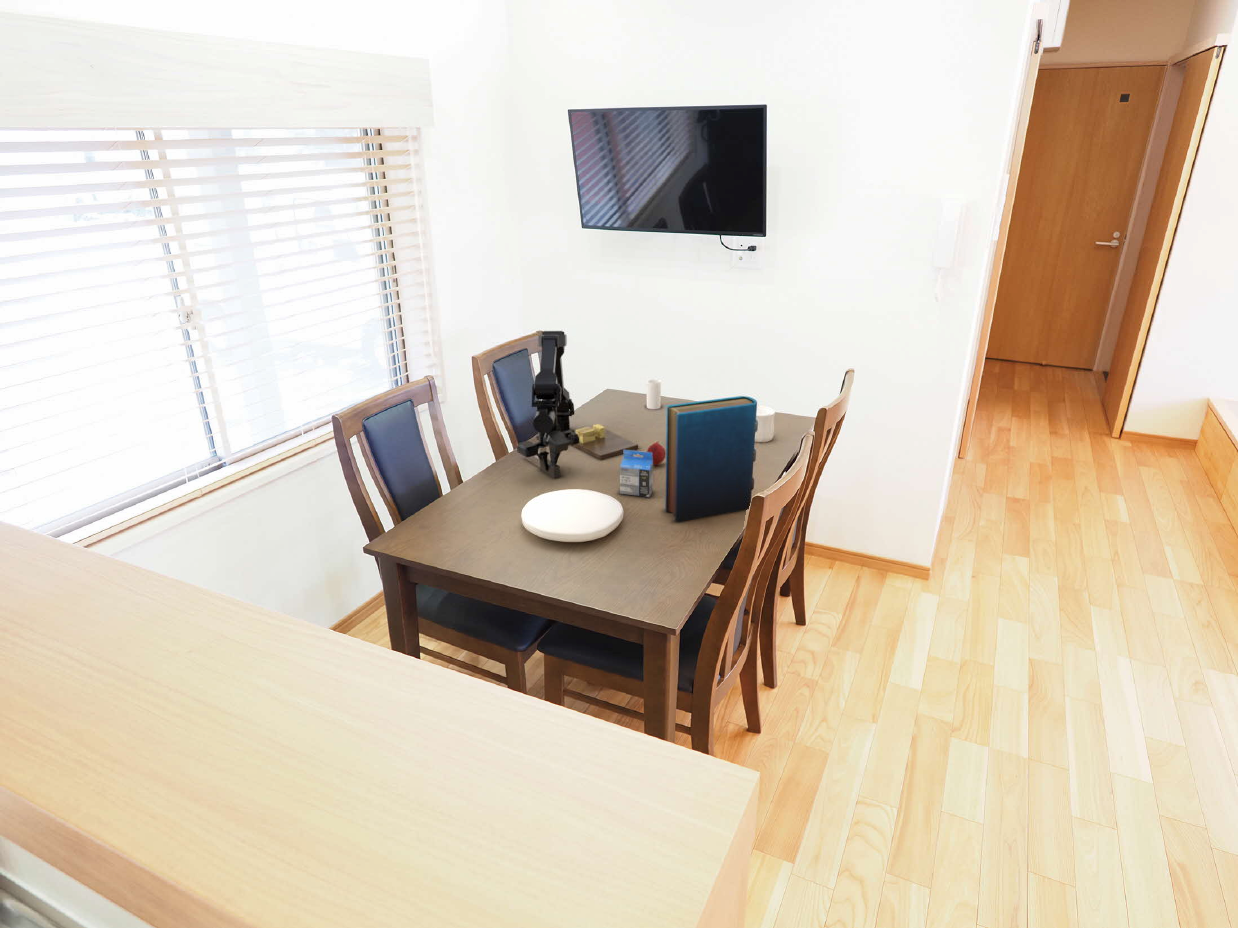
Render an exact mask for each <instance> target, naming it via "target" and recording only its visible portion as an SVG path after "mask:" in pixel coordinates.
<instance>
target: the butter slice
mask: <svg viewBox="0 0 1238 928" xmlns="http://www.w3.org/2000/svg"><path fill="white" fill-rule="evenodd" d="M592 429H594V430H595V436H596V437H598V438H604V437H605V429H606V427H605V426H603V425H602V424H598V423H596V424H593V425H592Z"/></svg>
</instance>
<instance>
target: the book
mask: <svg viewBox="0 0 1238 928" xmlns="http://www.w3.org/2000/svg"><path fill="white" fill-rule="evenodd" d="M757 406H758V401H757V399H755V398H753V397H750V396H747V395H738V396H730V397H723V398H716V399H715V398H714V399H708V400H699V401H691V402H685V403H684V402H683V403H677V404H676V403H675V404H670V405H666V427H665V428H666V429H665V432H666V436H665V437H666V439H665V441H666V442H665V452H666V455H665V498H664V499H665V500H664V501H665V503H664V504H665V505H664V507H665V508H664V509H665V511H664V512H666V513H671V514H673V516H674V522H675V523H681V522H687V521H691V520H697V519H702V518H703V519H704V518H708V517H714V516H719V515H725V514H730V513H736V512H741V511H747V510H750V509H749V506H750V503H751V504H752V494H753V493H752V492H753V490H754V489H755V478H754V476H753V475H754V463H755V462H756V460H757V449H756V448H755V444H756V442H755V432H757V430H758V421H757V420H756V413H757Z"/></svg>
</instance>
